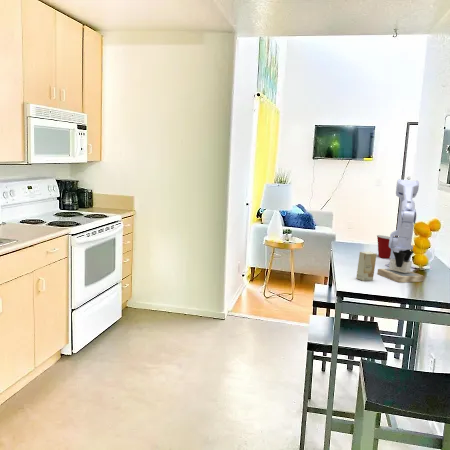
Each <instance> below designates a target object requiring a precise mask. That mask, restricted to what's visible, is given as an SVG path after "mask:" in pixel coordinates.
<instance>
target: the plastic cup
mask: <svg viewBox="0 0 450 450" xmlns="http://www.w3.org/2000/svg"><path fill="white" fill-rule="evenodd" d="M376 237H377V251H378V252H377V253H378V258H380V259H388V260H390V255H391V248H389V240H390V235H389V236H388V235H380V234H377V235H376Z"/></svg>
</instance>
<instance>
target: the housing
mask: <svg viewBox="0 0 450 450" xmlns="http://www.w3.org/2000/svg"><path fill="white" fill-rule="evenodd" d="M389 262H390V266H388V267H389V268H388V269H389V270H393V271H398V272H402V273H409V272H410V271H411V270H412V263H413V262H412V261H411V260H410V261H407V260H403V264H402V267H396V260H395V258H392V259H390V258H389ZM411 272H412V271H411Z"/></svg>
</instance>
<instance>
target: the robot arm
mask: <svg viewBox="0 0 450 450" xmlns="http://www.w3.org/2000/svg"><path fill="white" fill-rule="evenodd" d="M395 187H396V189H395V196H396V197H397V198H399V207H398V208H399V209H398V216H397V225H396V229H395V230H394V231H392V232H391V233H390V235H389V237H390V240H389V248H391V255H390V258H389V260H390V259H392V258H395V260H396V267H402V264H403V260H407V261H411V257H412V255H413V254H414V251H413V248H414V245H413V244H412V240H413V233H414V225H415V224H416V221H417V210H416V204H415V201H414V199H413V198H416V196H417V194H418V193H419V187H420V181H419V180H410V179H409V180H408V179H401V178H398V179H397V181H396V186H395ZM386 266H387V267H389V266H390V261H389V263H385V267H386Z"/></svg>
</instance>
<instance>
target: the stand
mask: <svg viewBox="0 0 450 450" xmlns="http://www.w3.org/2000/svg"><path fill="white" fill-rule="evenodd" d="M376 274H377V275H379V276H381V277H384V278H386V279H389V280H391V281H394V282H397V283H400V284H401V283H417V282H419V283H420V282H424V278H425V276H424V275H422V274H420V273H416V272H413V271H410V272H409V273H402V272H398V271H393V270H389V268H377V272H376Z"/></svg>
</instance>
